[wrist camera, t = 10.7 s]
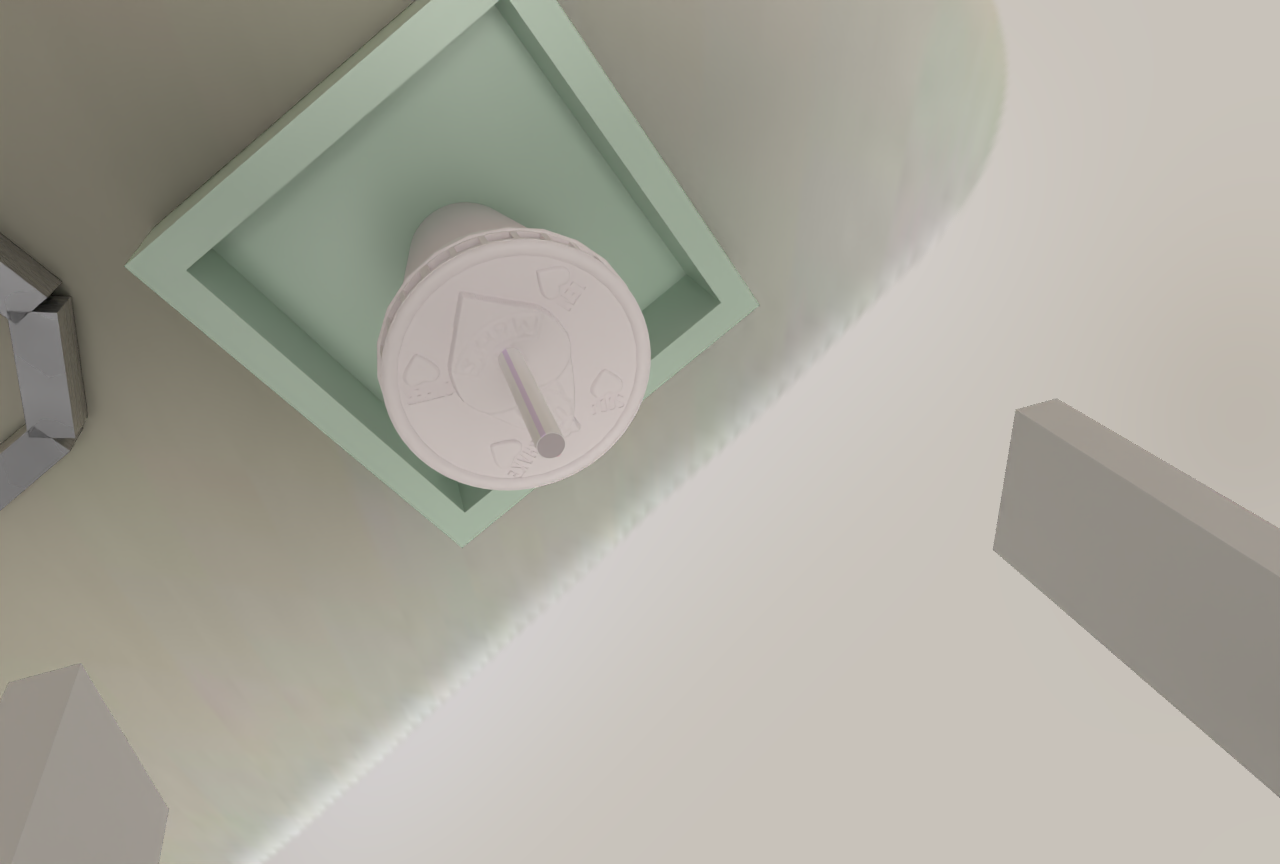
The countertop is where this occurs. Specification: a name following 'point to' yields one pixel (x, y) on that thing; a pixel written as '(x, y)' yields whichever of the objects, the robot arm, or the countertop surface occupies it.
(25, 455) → the collar
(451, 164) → the bin
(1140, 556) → the robot arm
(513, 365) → the smoothie
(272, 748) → the countertop surface
